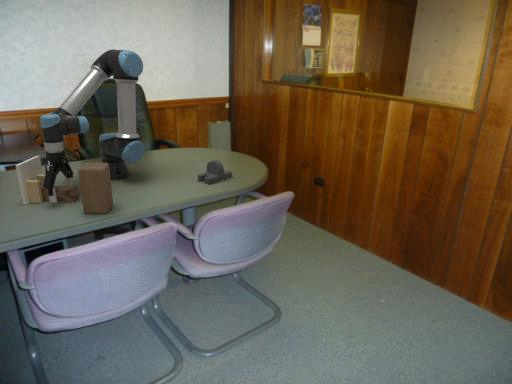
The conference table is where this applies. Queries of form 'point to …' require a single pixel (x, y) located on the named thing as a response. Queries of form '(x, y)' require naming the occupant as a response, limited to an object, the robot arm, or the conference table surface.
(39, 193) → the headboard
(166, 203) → the conference table surface
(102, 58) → the robot arm
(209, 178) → the bracket
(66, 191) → the rail
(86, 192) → the wooden block
